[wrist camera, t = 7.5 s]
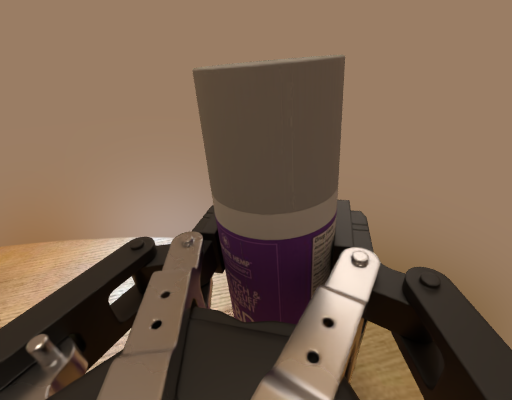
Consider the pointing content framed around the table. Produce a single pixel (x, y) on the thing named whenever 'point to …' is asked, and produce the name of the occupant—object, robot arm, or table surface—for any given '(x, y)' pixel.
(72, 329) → the robot arm
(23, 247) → the table surface
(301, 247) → the container
